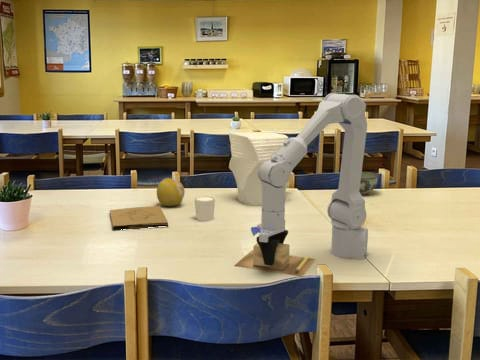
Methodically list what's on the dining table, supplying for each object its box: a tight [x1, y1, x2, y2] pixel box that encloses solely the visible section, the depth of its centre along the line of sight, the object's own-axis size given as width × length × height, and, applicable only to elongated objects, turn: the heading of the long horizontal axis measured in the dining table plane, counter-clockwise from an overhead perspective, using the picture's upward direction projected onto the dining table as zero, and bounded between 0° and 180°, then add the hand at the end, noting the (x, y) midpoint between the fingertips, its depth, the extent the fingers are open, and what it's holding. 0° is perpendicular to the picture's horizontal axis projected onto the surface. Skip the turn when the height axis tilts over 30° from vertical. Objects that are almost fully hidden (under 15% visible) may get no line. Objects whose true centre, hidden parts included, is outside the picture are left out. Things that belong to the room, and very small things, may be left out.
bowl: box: [359, 170, 380, 196], centre depth 221 cm, size 14×13×8 cm
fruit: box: [156, 177, 185, 207], centre depth 201 cm, size 10×11×10 cm
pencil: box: [295, 255, 311, 273], centre depth 139 cm, size 11×1×1 cm, turn 158°
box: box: [109, 205, 169, 232], centre depth 183 cm, size 21×18×2 cm
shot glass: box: [194, 196, 216, 222], centre depth 184 cm, size 7×7×7 cm
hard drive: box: [250, 226, 261, 237], centre depth 167 cm, size 2×8×12 cm
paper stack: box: [228, 131, 290, 206], centre depth 206 cm, size 21×27×26 cm
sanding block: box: [252, 242, 290, 271], centre depth 138 cm, size 8×4×6 cm, turn 68°
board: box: [233, 249, 317, 277], centre depth 142 cm, size 18×13×1 cm
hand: (272, 261), depth 138 cm, fingers closed on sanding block, 4 cm apart
